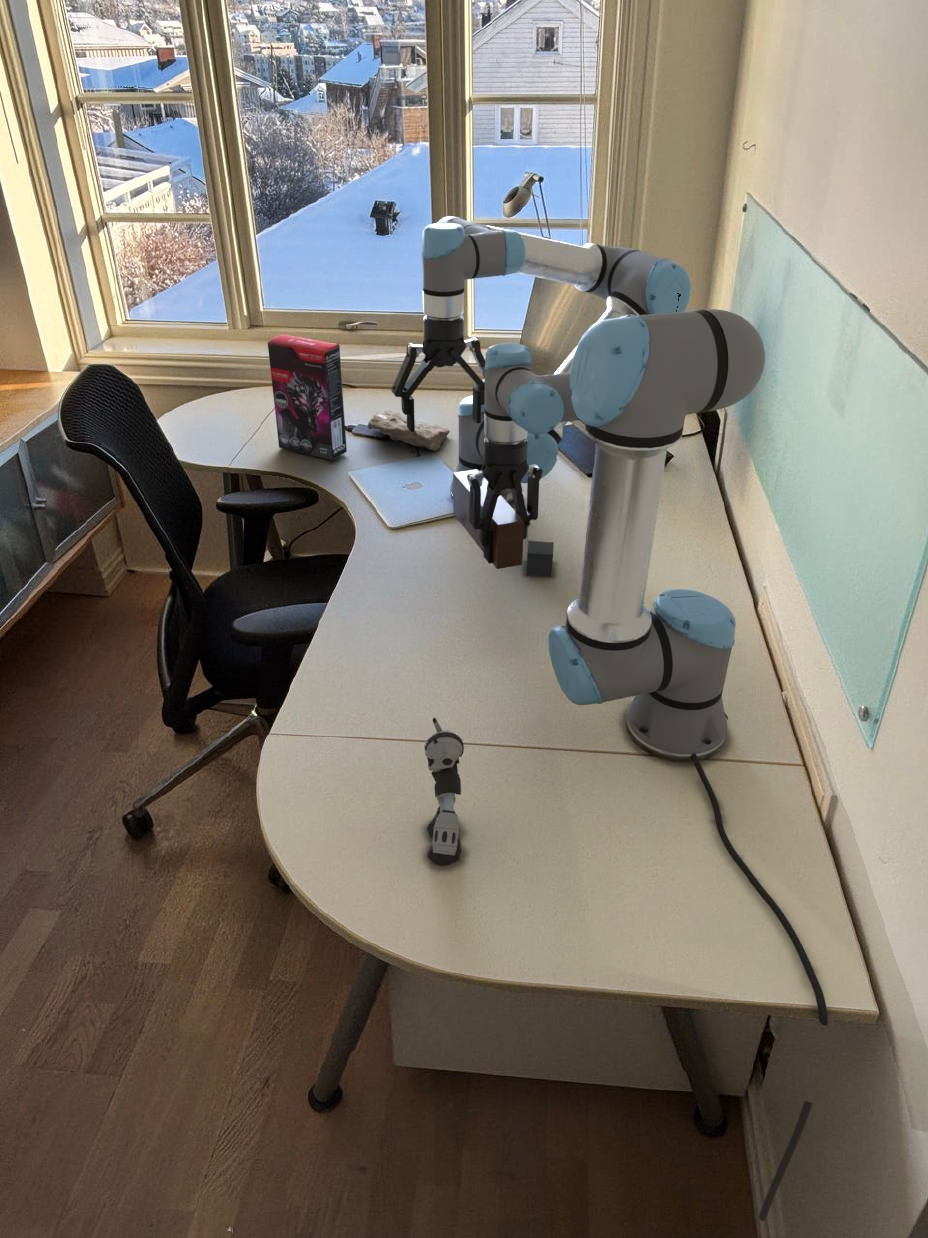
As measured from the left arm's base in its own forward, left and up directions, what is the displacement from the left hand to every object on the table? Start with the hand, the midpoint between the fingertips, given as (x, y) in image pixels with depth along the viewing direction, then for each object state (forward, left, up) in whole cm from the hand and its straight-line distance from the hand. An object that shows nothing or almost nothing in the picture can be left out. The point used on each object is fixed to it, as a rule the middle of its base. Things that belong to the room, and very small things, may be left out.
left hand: (444, 425), depth 181 cm
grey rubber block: (+8, +22, -25) cm, 34 cm away
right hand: (+20, +17, -16) cm, 31 cm away
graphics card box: (-33, -44, -25) cm, 60 cm away
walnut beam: (+13, +12, -16) cm, 24 cm away
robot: (+82, +24, -25) cm, 89 cm away
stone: (-46, -24, -25) cm, 57 cm away
